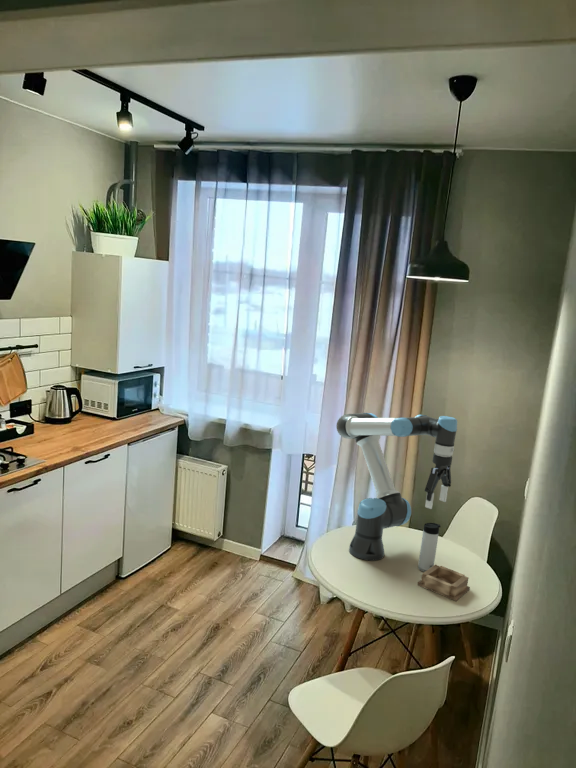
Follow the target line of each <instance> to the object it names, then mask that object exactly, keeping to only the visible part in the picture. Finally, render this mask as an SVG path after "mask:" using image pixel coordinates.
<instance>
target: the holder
mask: <svg viewBox="0 0 576 768" xmlns="http://www.w3.org/2000/svg"><path fill="white" fill-rule="evenodd" d="M468 583H469V577H467V576H465V574H464V573H461V572H459V571H455V570H453V569H450V568H448V567H445V566H443V565H437V564H434V566H433V567H431V568H430V569H428V570H427V571H425V572H422V574H421V579H420V580H418V581H417V586H420V587H422V588H424V589H427V590H429V591H431V592H434V593H435V594H438V595H440V596H443V597H445V598H448V599H450V600H452V601H454V602H457V601H458V600H460V599H461V598H462V597H464V595H466V594H468V592H469V591H470V589H471V587H470V586H468V585H469V584H468Z"/></svg>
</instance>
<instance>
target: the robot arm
mask: <svg viewBox="0 0 576 768" xmlns="http://www.w3.org/2000/svg"><path fill="white" fill-rule="evenodd" d="M335 427H336V431H337V433H338V435H340V436H341V437H342V438H344V439H349V440H355V443H356V445H357V446H359V447H360V448H361V451H362V453H363V457H364V459H365V463H366V465H367V469H368V472H369V475H370V477H371V480H372V483H373V486H374V489H375V493H376V497H374V498H373V497H369V498H365V499H363V500H361V501H360V502H359V504H358V509H357V516H356V525H355V533H354V535H353V537H352V540H351V542H350V543H349V548H348V552H349V553H350V554H351V556H353V557H355V558H357V559H361V560H365V561H379V560H382V559H383V558H384V556H385V548H384V547H385V546H384V542H383V533H384V529H388V528H394V527H400V526H403V525H405V524H407V523H408V522H409V521H410V519H411V516H412V506H411V504H410V502H409V501H408V500H406V498H404V497H402V495H401V492H400V491H398V490H396V488H395V485H394V481H393V479H392V477H391V472H390V470H389V467H388V464H387V462H386V459H385V456H384V453H383V451H382V448H381V444H380V442H379V441H380V439H381V437H383V436H385V437H386V436H388V437H389V436H390V437H394V436H396V437H402V438H405V437H411V436H430V437H433V438H435V440H434V441H435V442H434V446H433V447H434V449H433V452H434V453H433V456H432V463H433V464H435V466H434V467H431V470H430V473H429V476H428V479H427V482H426V485H425V489H424V492H425V493H426V496H425V497H426V498H425V505H424V507H425V508H427V509H430V510H432V509H433V503H434V498H435V493H434V491H435V489H436V487H437V485H438V483H439V481H440V480H441V482H442V483H441V486H440V493H439V499H438V500H439V501H441V502H443V503H446V502H447V498H448V491H449V488H451V486H452V475H451V466H452V462H453V455H454V451H455V441H456V436H457V432H458V420H457V418H455V417H452V416H447V415H440V416H439V417H438V418H435V417H432V416H429V415H425V414H417V415H415V416H413V417H412V416H411V417H410V416H409V417H378V416H377V415H376V414H374V413H370V412H369V413H368V412H362V413H359V412H358V413H347V414H343V415H341V416H340V417H339V418H338V420H337V421H336V426H335Z"/></svg>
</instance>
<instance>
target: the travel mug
mask: <svg viewBox="0 0 576 768" xmlns="http://www.w3.org/2000/svg"><path fill="white" fill-rule="evenodd" d="M440 528H441V524H439V523H436V522H426V523H424V525H423V530H422V535H421V536H422V537H421V543H420V551H419V558H418V564H417V568H418V570H419V571H421V572H422V573H424V572H425V571H427V570H428V569H430V568H431V567H433V566H434V565H435V559H436V554H437V548H438V547H437V546H438V540H439V535H440V534H439V531H440Z"/></svg>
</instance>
